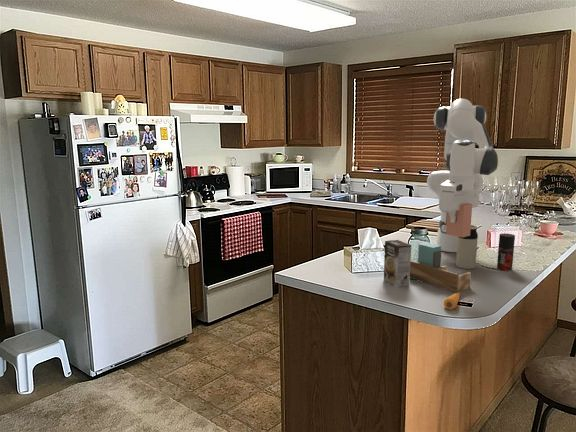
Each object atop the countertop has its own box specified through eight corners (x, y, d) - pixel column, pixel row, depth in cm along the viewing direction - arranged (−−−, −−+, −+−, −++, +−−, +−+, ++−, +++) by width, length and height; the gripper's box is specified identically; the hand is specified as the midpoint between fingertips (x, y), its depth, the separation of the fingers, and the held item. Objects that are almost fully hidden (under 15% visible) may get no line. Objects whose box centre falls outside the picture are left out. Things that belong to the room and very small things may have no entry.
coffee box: (382, 279, 187) (384, 240, 184) (396, 277, 190) (397, 239, 187) (396, 286, 179) (397, 246, 176) (410, 284, 181) (411, 244, 178)
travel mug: (473, 270, 199) (476, 229, 195) (454, 267, 202) (457, 227, 199) (476, 265, 205) (479, 225, 202) (457, 263, 209) (460, 223, 206)
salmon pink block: (452, 231, 180) (454, 201, 178) (470, 235, 174) (472, 203, 172) (444, 233, 178) (446, 202, 175) (462, 237, 172) (464, 205, 169)
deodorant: (496, 270, 199) (499, 235, 196) (497, 266, 204) (499, 232, 201) (511, 271, 196) (515, 237, 193) (512, 268, 201) (515, 234, 199)
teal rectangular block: (425, 270, 192) (426, 242, 190) (440, 275, 186) (442, 246, 184) (417, 272, 189) (418, 244, 187) (432, 277, 183) (434, 248, 181)
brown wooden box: (422, 273, 195) (423, 257, 194) (469, 287, 178) (471, 270, 176) (408, 277, 190) (409, 260, 189) (455, 292, 172) (456, 274, 171)
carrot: (452, 313, 156) (458, 302, 154) (439, 306, 157) (446, 295, 156) (462, 300, 173) (468, 290, 171) (451, 293, 175) (457, 283, 173)
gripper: (469, 181, 181) (467, 216, 183) (436, 185, 169) (434, 223, 171) (484, 183, 176) (482, 219, 178) (452, 187, 164) (449, 226, 166)
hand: (458, 221), depth 175 cm, fingers closed on salmon pink block, 5 cm apart
